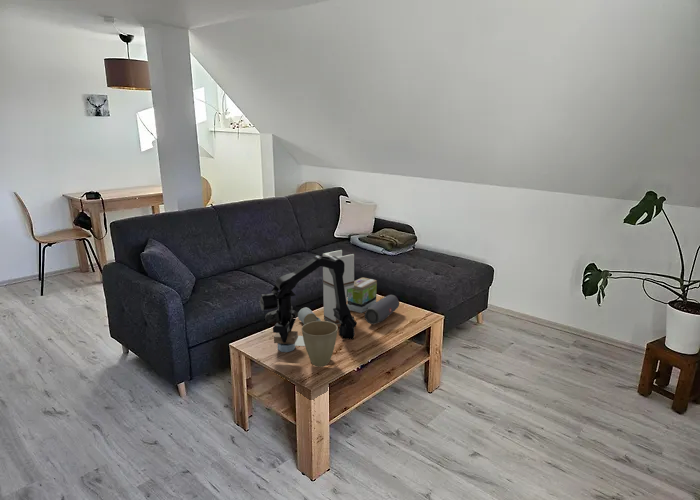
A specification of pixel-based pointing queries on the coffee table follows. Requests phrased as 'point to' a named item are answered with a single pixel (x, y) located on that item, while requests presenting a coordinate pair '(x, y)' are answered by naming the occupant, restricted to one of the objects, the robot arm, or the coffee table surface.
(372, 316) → the bluetooth speaker
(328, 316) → the tall grey upright box
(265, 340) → the coffee table surface
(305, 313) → the ceramic mug
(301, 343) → the mat
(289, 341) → the lid
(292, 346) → the bowl
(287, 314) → the robot arm
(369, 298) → the tea box
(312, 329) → the plant pot
